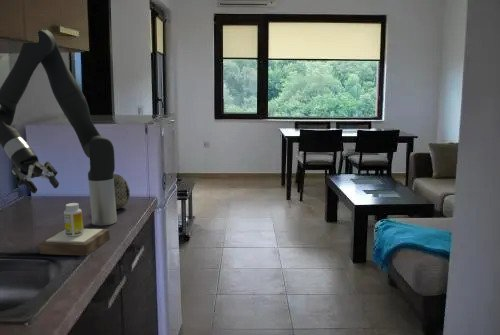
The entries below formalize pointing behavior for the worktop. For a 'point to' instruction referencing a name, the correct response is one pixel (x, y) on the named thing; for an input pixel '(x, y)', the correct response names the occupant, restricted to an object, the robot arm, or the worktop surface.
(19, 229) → the worktop surface
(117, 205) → the decorative egg
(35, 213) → the worktop surface
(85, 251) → the walnut stand
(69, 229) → the supplement bottle
